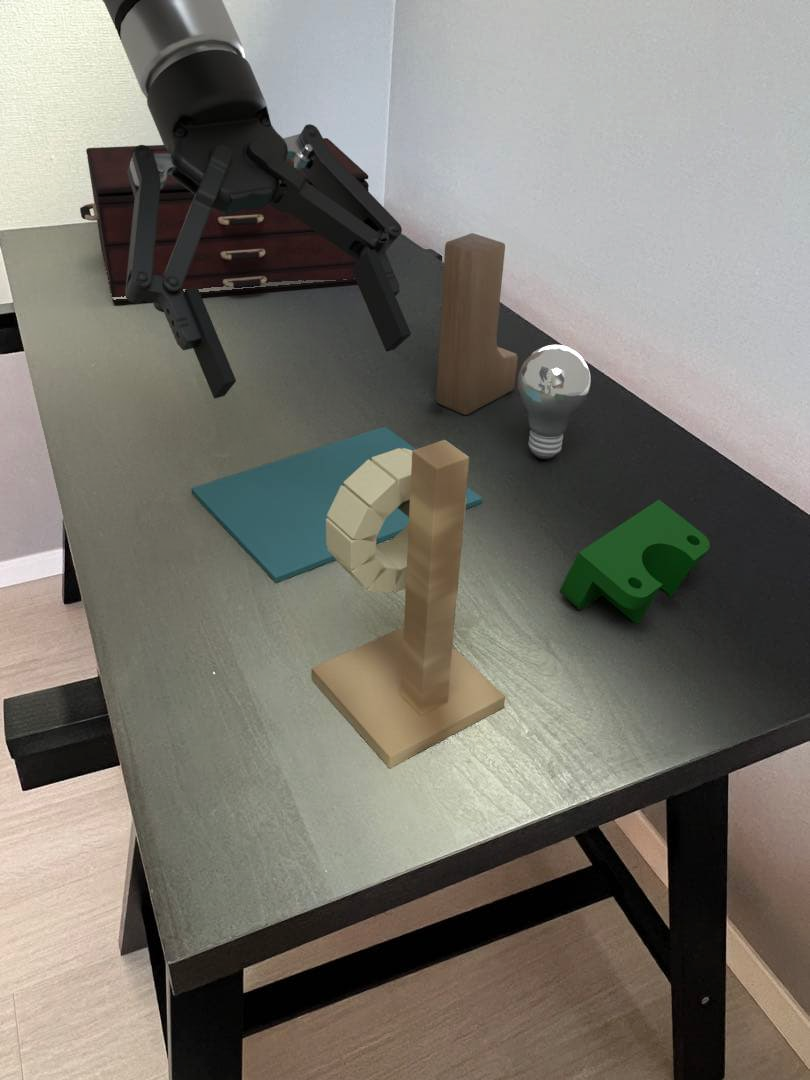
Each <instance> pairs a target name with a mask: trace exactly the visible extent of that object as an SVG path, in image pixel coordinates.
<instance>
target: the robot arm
mask: <svg viewBox="0 0 810 1080" xmlns="http://www.w3.org/2000/svg"><path fill="white" fill-rule="evenodd" d="M101 1H102V2H103V4H104V6H105V8H106V10H107V13H108V15H109V17H110V19H111V21H112V23H113V25H114V27H115V28H114V29H115V30H116V33H117V35H118V37H119V40H120V42H121V45H122V47H123V50H124V52H125V54H126V57H127V59H128V62H129V65H130V66H131V69H132V72H133V73H134V76H135V79H136V81H137V84H138V87H139V88H140V90H141V92H142V93H143V95H144V97H145V99H146V104H147V107H148V111H149V112H150V115H151V117H152V121H153V122H154V125H155V128H156V130H157V132H158V134H159V136H160V139H161V141H162V145H164V146H165V148H166V149H167V150H168V153H153V152H152V150H151V149H150V148H149V147H148V145H145V144H138V145H136V146H137V147H136V148H135V150H134V153H133V156H132V159H131V162H130V166H129V169H128V177H129V180H130V184H131V187H132V191H133V194H134V198H135V199H134V209H133V219H132V229H131V239H130V250H129V260H128V270H127V280H126V290H125V295H126V298H127V299H128V300H129V301H130V302H132V303H133V304H141V303H140V302H142V301H149V302H148V303H152V305H153V307H154V308H155V310H157V311H158V312H161V313H164V315H165V319H166V320H167V322H168V325H169V327H170V330H171V333H172V335H173V337H174V340H175V342H176V344H177V346H178V347H179V348H180V349H181V350H182V351H188V350H191V349H193V352H194V353H195V356H196V358H197V361H198V363H199V366H200V368H201V370H202V373H203V375H204V378H205V380H206V383H207V385H208V387H209V391H210V392H211V394H212V397H213V399H214V400H215V399H218V398H222V397H225V396H226V395H227V394H228V392H229V391H230V390H231V389H232V387H233V386H234V385H235V383H236V382H237V379H236V377H235V374H234V371H233V370H232V367H231V365H230V363H229V360H228V358H227V354H226V352H225V350H224V348H223V346H222V343H221V341H220V340H221V339H220V338H219V336H218V333H217V331H216V328H215V326H214V324H213V321H212V319H211V316H210V315H209V312H208V309H207V307H206V305H205V302H204V299H203V297H201V295H200V292H199V290H198V288H197V287H192V288H187V289H186V290H185V292H184V291H183V289H182V285H183V283H184V280H185V278H186V275H187V272H188V270H189V267H190V264H191V262H192V259H193V256H194V254H195V251H196V248H197V246H198V243H199V241H200V238H201V235H202V233H203V230H204V227H205V225H206V222H207V219H208V217H209V214H210V211H211V209H212V208H213V209H215V210H217V211H220V212H223V214H224V215H229V214H234V213H236V212H238V211H240V210H243V209H248V210H259V209H264V208H265V206H266V205H267V204H269V205H270V206H272V207H273V208H275V209H276V210H278V211H279V212H281V213H290V214H291V215H292V216H294V217H295V218H297V219H298V220H300V221H301V222H303V223H304V224H305V225H307V226H308V227H310V228H311V229H313V230H314V231H316V232H317V233H318V234H320V235H321V236H323V237H324V238H326V239H327V240H328V241H330V242H331V243H333V244H334V245H336V246H337V247H339V248H340V249H341V250H343V251H344V252H346V253H347V254H349V255H350V256H351V257H353V258H354V259H356V260H357V261H358V262H357V263H356V264H355V266H354V267H353V268H352V269H351V270H352V272H353V274H354V277H355V279H356V282H357V284H356V285H357V286H358V288H359V291H360V294H361V296H362V298H363V301H364V303H365V305H366V307H367V310H368V312H369V314H370V315H369V316H370V317H371V319H372V321H373V324H374V326H375V329H376V331H377V334H378V336H379V338H380V342H381V343H382V345H383V347H384V350H385V352H387V353H388V352H390V351H394V350H396V349H397V348H398V347H399V346H400V345H402V344H403V342H404V341H405V340H407V339H408V338H409V337H410V336H411V335H412V332H411V330H410V328H409V325H408V323H407V320H406V318H405V316H404V313H403V311H402V309H401V307H400V304H399V302H398V300H397V297H396V296H397V295H398V294H399V293H400V292H401V291H400V283H399V281H398V279H397V276H396V274H395V272H394V269H393V267H392V264H391V262H390V260H389V257H388V255H387V250H388V249H389V248H390V247H391V246H392V245H393V243H394V242H395V241H396V240H397V239H398V238H399V237H400V236H401V234H402V231H403V228H402V226H401V224H400V223H399V222H398V220H396V218H394V216H393V215H391V213H390V212H389V211H388V210H387V209H386V208H385V206H383V205H382V204H381V203H380V202H379V201H378V200H377V199H376V198H375V197H374V196H373V195H372V194H371V192H370V191H369V192H368V191H367V189H366V188H365V187H364V186H363V185H362V184H361V183H360V182H359V181H358V180H357V179H356V178H355V177H354V176H353V175H352V174H351V173H350V172H349V171H348V170H347V169H346V168H345V166H344V165H343V164H342V163H341V162H340V161H339V160H338V159H337V158H336V157H335V156H334V155H333V154H332V153H331V152H330V150H329V149H328V147H327V145H326V143H325V141H324V139H323V138H324V137H323V135H322V134H321V132H320V130H319V128H318V127H317V126H315V125H314V124H312V123H310V124H309V123H308V124H305V125H304V127H303V128H302V130H301V131H300V133H298V134H294V135H291V136H286V137H282V136H281V135H280V133H278V131H277V130H276V129H275V127H274V126H273V125H272V121H271V117H270V113H269V108H268V105H267V103H266V99H265V97H264V95H263V93H262V90H261V88H260V85H259V83H258V81H257V79H256V76H255V74H254V71H253V69H252V66H251V64H250V62H249V61H248V60H247V59H246V54H245V49H244V46H243V43H242V41H241V39H240V37H239V35H238V33H237V30H236V28H235V25H234V24H233V21H232V19H231V17H230V14H229V11H228V10H227V8H226V6H225V3H224V1H223V0H101ZM286 158H287V159H290V160H292V161H293V162H294V167H293V166H292V165H290V164H289V163H288V162H286ZM300 169H302V171H303V172H304V174H305V175H306V177H307V178H308V179H309V180H310V181H311V183H312V184H313V185H314V186H315V187H316V188H317V189H318V190H317V189H316V188H315V187H313V186H312V185H310V184H309V183H308V182H307V181H306V177H305V175H304V174H303V173H302V172H300V171H299V170H300ZM168 175H171V176H172V177H173V178H174V179H175V180H176V181H177V182H179V183H180V184H181V185H183V186H184V187H185V188H186V189H188V190H189V191H190V192H192V193H193V194H194V197H193V200H192V202H191V205H190V208H189V210H188V213H187V215H186V218H185V221H184V224H183V226H182V229H181V231H180V234H179V237H178V239H177V242H176V244H175V247H174V249H173V252H172V255H171V257H170V260H169V262H168V265H167V267H166V270H165V273H164V275H157V274H153V264H154V253H155V242H156V231H157V220H158V210H159V199H160V189H162V188H163V187H164V184H165V182H166V179H167V176H168ZM281 181H282V182H283V183H285V184H286V185H287V187H288V188H287V190H286V191H285V192H283V191H281V190H279V186H280V182H281Z"/></svg>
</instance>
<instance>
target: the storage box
mask: <svg viewBox="0 0 810 1080" xmlns="http://www.w3.org/2000/svg"><path fill="white" fill-rule="evenodd" d="M323 139H324V141H325V143H326V145H327V147H328V149H329V150H330V152H331V153H332V154H333V155H334V156H335V157H336V158H337V159H338V160H339V161H340V162H341V163H342V164H343V165H344V166H345V168H346V169H347V170H348V171H349V172H350V173H351V174H352V175H353V176H354V177H355V178H356V179H357V180H358V181H359V182H360V183H361V184H362V185H363V186H364V187H365V188H366V189H367V191H368V192H369V193H370V191H369V187H370V185H369V182H368V181H367V180H368V179H369V175H368V174H367V172H366V171H364V170H363V169H362V168H361V167H360V166H359V165H357V164H356V163H355V162H354V161H353V160H352V159H351V157H349V156H348V155H347V154H346V153H345V152H344V151H342V150H341V149H340V147H338V146H337V145H336V144H335V143H333V142H332V141H331V139H329V138H326V137H323ZM137 146H138V145H129V146H127V145H125V146H103V147H88V148H86V150H85V152H86V156H87V158H86V159H87V164H88V170H89V171H88V172H89V178H90V184H91V190H92V197H93V202H92V203H87V204H85V205H83V206H81V207H80V208H79V211H80V216H81V218H82V219H83V220H86V221H91V222H93V221H96V222H97V223H96V224H97V230H98V237H99V243H100V249H101V255H102V259H103V265H104V268H105V267H106V268H105V273H106V278H107V283H108V286H109V285H110V286H109V287H108V288H109V291H110V296H111V300H112V303H113V304H114V305H115V306H118V305H131V304H132V305H133V304H134V303H132V302H130V301H129V300H128V299H116V300H113V299H112V297H121V296H122V297H124V296H126V295H125V290H126V280H127V270H128V260H129V250H130V239H131V229H132V219H133V209H134V199H135V198H134V194H133V191H132V187H131V184H130V180H129V177H128V169H129V166H130V162H131V159H132V156H133V153H134V150H135V148H136V147H137ZM147 146H148V147H149V148H150V149H151V150H152V152H153V153H168V150H167V149H166V148H165V146H164V144H153V145H152V144H151V145H149V144H148V145H147ZM286 162H288V163H289V164H290V165H292V166H293V167H294V162H293V161H292V160H290V159H287V158H286ZM299 171H300V172H302V173H303V174H304V172H303V171H302V169H300V170H299ZM304 175H305V174H304ZM305 177H306V175H305ZM306 181H307V182H308V183H309V184H310V185H312V186H313V187H315V186H314V185H313V184H312V183H311V181H310V180H309V179H308V178H307V177H306ZM287 188H288V187H287V185H286V184H285V183H283V182H282V181H281V182H280V186H279V190H281V191H283V192H285V191H286V190H287ZM315 188H316V187H315ZM316 189H317V188H316ZM317 190H318V189H317ZM193 197H194V194H193V193H192V192H190V191H189V190H188V189H186V188H185V187H184V186H183V185H181V184H180V183H179V182H177V181H176V180H175V179H174V178H173V177H172V176H171V175H168V176H167V179H166V182H165V184H164V187H163V188H162V189H160V199H159V210H158V220H157V231H156V242H155V253H154V264H153V274H157V275H164V273H165V270H166V267H167V265H168V262H169V260H170V257H171V255H172V252H173V249H174V247H175V244H176V242H177V239H178V237H179V234H180V231H181V229H182V226H183V224H184V221H185V218H186V215H187V213H188V210H189V208H190V205H191V202H192V200H193ZM91 210H93V215H92V213H91ZM102 253H103V254H102ZM104 262H105V263H104ZM357 262H358V261H357V260H356V259H354V258H353V257H351V256H350V255H349V254H347V253H346V252H344V251H343V250H341V249H340V248H339V247H337V246H336V245H334V244H333V243H331V242H330V241H328V240H327V239H326V238H324V237H323V236H321V235H320V234H318V233H317V232H316V231H314V230H313V229H311V228H310V227H308V226H307V225H305V224H304V223H303V222H301V221H300V220H298V219H297V218H295V217H294V216H292V215H291V214H290V213H281V212H279V211H278V210H276V209H275V208H273V207H272V206H270V205H269V204H267V205H266V206H265V208H264V209H259V210H248V209H243V210H240V211H238V212H236V213H234V214H229V215H224V214H223V212H220V211H217V210H215V209H213V208H212V209H211V211H210V214H209V217H208V219H207V222H206V225H205V227H204V230H203V233H202V235H201V238H200V241H199V243H198V246H197V248H196V251H195V254H194V256H193V259H192V262H191V264H190V267H189V270H188V272H187V275H186V278H185V280H184V283H183V285H182V289H187V288H192V287H197V288H198V289H203V288H211V287H223V286H226V287H234V288H242V287H254V286H260V285H263V284H264V283H268V282H282V281H298V280H302V281H303V280H304V281H306V280H336V281H324V282H313V283H301V284H290V285H278V286H266V287H255V288H243V289H232V290H220V291H209V292H200V295H201V297H202V298H211V297H214V298H215V297H225V296H235V295H236V296H237V295H246V294H247V295H249V294H257V293H258V294H259V293H272V292H282V291H293V290H305V289H314V288H315V289H316V288H317V289H318V288H327V287H339V286H351V285H358V284H357V282H356V279H354V278H355V277H354V274H353V272H352V270H351V269H352V268H353V267H354V266H355V264H356V263H357ZM106 271H107V272H106ZM107 276H108V277H107ZM343 279H347V280H343ZM108 280H109V281H108ZM111 294H112V295H111ZM144 303H150V302H149V301H142V302H140V303H139V304H144Z"/></svg>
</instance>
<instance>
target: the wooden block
mask: <svg viewBox="0 0 810 1080" xmlns="http://www.w3.org/2000/svg"><path fill="white" fill-rule="evenodd" d="M505 253H506V244H505V243H504V242H502V241H499V240H495V239H492V238H489V237H486V236H483V235H480V234H477V233H474V232H473V233H469V234H466V235H463V236H459V237H457V238H454V239H451V240H449V241H446V242H445V245H444V259H443V273H442V275H443V276H442V291H441V305H440V306H441V307H440V308H441V309H440V322H439V323H440V326H439V341H438V356H437V373H436V374H437V375H436V389H435V402H436V403H437V404H438V405H441V406H443V407H445V408H447V409H449V410H452V411H454V412H456V413H459V414H461V415H464V416H468V415H469V414H472V413H473V412H476V411H477V410H479V409H481V408H483V407H485V406H486V405H488V404H490V403H492V402H494V401H495V400H497V399H500V398H501V397H503V396H505V395H506V394H509V393H510V392H512V391H514V389H515V385H516V376H517V368H518V367H517V366H518V359H519V355H518V354H517V353H516V352H514V351H513V352H512V351H510V350H507V349H505V348H502V347H501V346H498V338H497V333H498V326H499V325H498V324H499V315H500V304H501V295H502V294H501V293H502V285H503V273H504V264H505Z"/></svg>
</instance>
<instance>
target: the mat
mask: <svg viewBox="0 0 810 1080" xmlns="http://www.w3.org/2000/svg"><path fill="white" fill-rule="evenodd" d="M398 448H400V449H402V448H405V449H409V450H412V451H413V450H415V449H416V447H414V446H413V445H411V444H410V443H409V442H407V441H406V440H404V439H403V438H402V437H400V436H399V435H398V434H396V433H395V432H394V431H393V430H391V429H389V428H388V427H387V426H382V427H378V428H376V429H372V430H369V431H365V432H363V433H360V434H356V435H354V436H351V437H347V438H345V439H342V440H341V439H340V440H337V441H334V442H333V443H332V442H331V443H328V444H325V445H322V446H319V447H316V448H312V449H309V450H307V451H303V452H300V453H297V454H293V455H290V456H287V457H284V458H282V459H278V460H275V461H271V462H269V463H265V464H263V465H259V466H256V467H252V468H250V469H247V470H243V471H240V472H237V473H233V474H231V475H228V476H224V477H221V478H218V479H215V480H212V481H209V482H205V483H203V484H199V485H196V486H193V487H190V490H191V494H192V495H193V496H194V497H195V498H196V499H197V501H198V502H199V503H200V504H201V505H202V506H203V507H204V509H206V510H207V511H208V512H209V513H210V514H211V515H212V516H213V517H214V518H215V519H216V521H217V522H218V523H219V524H220V525H221V526H222V527H223V529H225V531H227V532H228V533H229V534H230V535H231V537H232V538H233V539H234V540H235V541H236V543H238V545H240V546H241V547H242V549H244V551H245V552H246V553H247V554H248V555H249V556H250V557H251V558H252V559H253V560H254V561H255V562H256V564H257V565H259V567H260V568H261V569H262V570H263V571H264V572H265V573H266V575H268V576H269V577H270V578H271V579H272V581H274V583H276V584H277V583H280V582H282V581H285V580H288V579H289V578H294V577H296V576H298V575H300V574H303V573H305V572H308V571H310V570H314V569H315V568H318V567H321V566H323V565H326V564H329V563H331V562H334V561H337V560H336V559H335V558H334V557H333V556H332V554H331V553H330V552H329V551H328V549H327V548H328V547H327V546H326V519H327V518H329V517H328V516H327V513H328V511H329V509H330V507H331V505H332V503H333V501H334V499H335V497H336V495H337V493H338V491H339V489H340V486H341V485H342V486H345V484H344V481H345V480H346V479H347V478H349V477H350V476H351V475H352V474H353V473H354V472H355V471H356V470H357V469H358V468H359V467H360V466H362V465H363V464H364V463H365V462H366V461H367V460H368V459H369V460H370V461H372V457H374V456H377V455H380V454H383V453H386V452H389V451H392V450H395V449H398ZM482 503H483V497H481V496H480V495H479V494H477V493H476V492H475V491H473V489H471V488H470V487H468V486H467V489H466V507H465V510H467V509H470V508H473V507H476V506H478V505H481V504H482ZM408 522H409V517H408V516H406V515H405V514H404V513H403V512H402V511H400V510H399V509H398V508H396V509H395V510H394V511H393V512H392V513H391V514H390V515H389V516H388V517H387V518H386V519H385V521H384V523H383V525H382V527H381V529H380V531H379V533H378V535H377V537H376V545H379V544H381V543H384V542H386V541H389V540H392V539H393V538H394V537H395V536H396V535H397V534H399V533H400V532H401V531H402V530H403V529H404V528H405V527H406V526H407V524H408Z"/></svg>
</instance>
